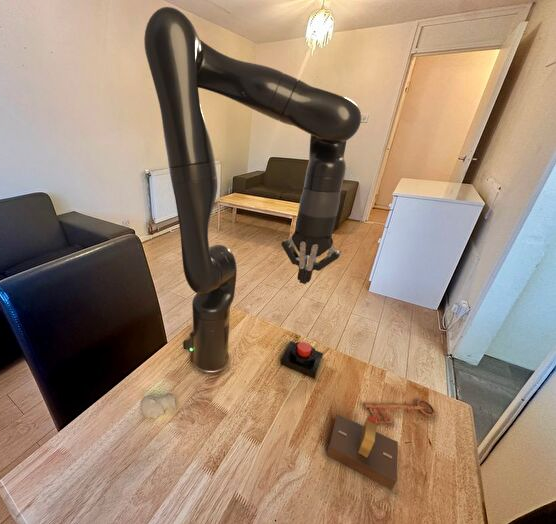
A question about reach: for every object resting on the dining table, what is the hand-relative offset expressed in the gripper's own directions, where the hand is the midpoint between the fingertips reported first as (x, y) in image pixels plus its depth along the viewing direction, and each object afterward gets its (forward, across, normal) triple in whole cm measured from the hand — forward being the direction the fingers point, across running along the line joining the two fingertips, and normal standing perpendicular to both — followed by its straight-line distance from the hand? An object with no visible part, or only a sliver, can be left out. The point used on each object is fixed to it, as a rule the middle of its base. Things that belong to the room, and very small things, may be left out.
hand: (303, 282), depth 67 cm
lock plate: (+24, +20, -17) cm, 36 cm away
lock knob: (+21, +20, -17) cm, 34 cm away
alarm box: (+25, +3, +1) cm, 25 cm away
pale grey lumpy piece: (+25, -20, -31) cm, 45 cm away
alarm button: (+21, +3, +1) cm, 21 cm away
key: (+24, +26, -2) cm, 36 cm away
